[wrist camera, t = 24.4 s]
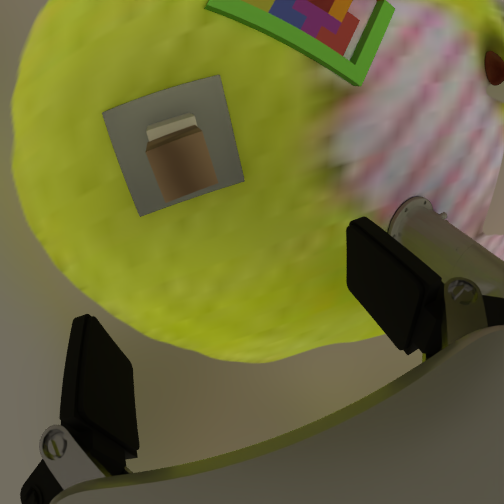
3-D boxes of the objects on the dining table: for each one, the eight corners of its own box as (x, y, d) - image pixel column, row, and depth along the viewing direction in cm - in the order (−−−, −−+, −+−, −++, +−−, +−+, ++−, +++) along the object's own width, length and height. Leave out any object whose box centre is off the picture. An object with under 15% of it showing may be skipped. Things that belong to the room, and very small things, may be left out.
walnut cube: (195, 124, 27) (202, 130, 23) (209, 168, 30) (218, 183, 26) (147, 142, 26) (145, 152, 22) (164, 185, 29) (165, 203, 25)
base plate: (217, 75, 30) (219, 74, 29) (242, 178, 38) (244, 181, 37) (103, 112, 28) (102, 112, 27) (140, 213, 36) (140, 216, 35)
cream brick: (189, 112, 30) (194, 115, 26) (204, 166, 34) (211, 178, 30) (147, 125, 30) (146, 131, 26) (164, 179, 34) (165, 193, 30)
